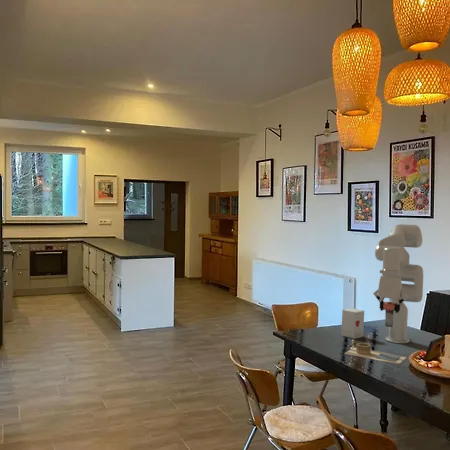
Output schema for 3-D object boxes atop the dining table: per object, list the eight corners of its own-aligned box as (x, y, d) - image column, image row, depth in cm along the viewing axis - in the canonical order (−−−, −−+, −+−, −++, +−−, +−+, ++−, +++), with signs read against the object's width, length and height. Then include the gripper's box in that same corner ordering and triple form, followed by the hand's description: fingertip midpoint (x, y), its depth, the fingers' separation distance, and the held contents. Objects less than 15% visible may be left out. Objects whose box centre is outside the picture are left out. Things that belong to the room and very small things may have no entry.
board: (354, 350, 251) (354, 339, 251) (407, 360, 236) (407, 348, 236) (344, 356, 240) (344, 345, 240) (398, 367, 225) (399, 355, 225)
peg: (380, 326, 233) (380, 302, 233) (384, 323, 238) (385, 300, 238) (393, 328, 230) (394, 304, 229) (397, 325, 235) (398, 302, 234)
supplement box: (354, 339, 273) (354, 312, 272) (340, 335, 280) (341, 309, 279) (364, 336, 278) (364, 310, 278) (350, 333, 285) (351, 307, 285)
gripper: (370, 272, 235) (368, 310, 236) (407, 276, 225) (406, 315, 226) (375, 271, 241) (374, 307, 242) (412, 274, 231) (410, 312, 232)
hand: (389, 311), depth 234 cm, fingers closed on peg, 6 cm apart
